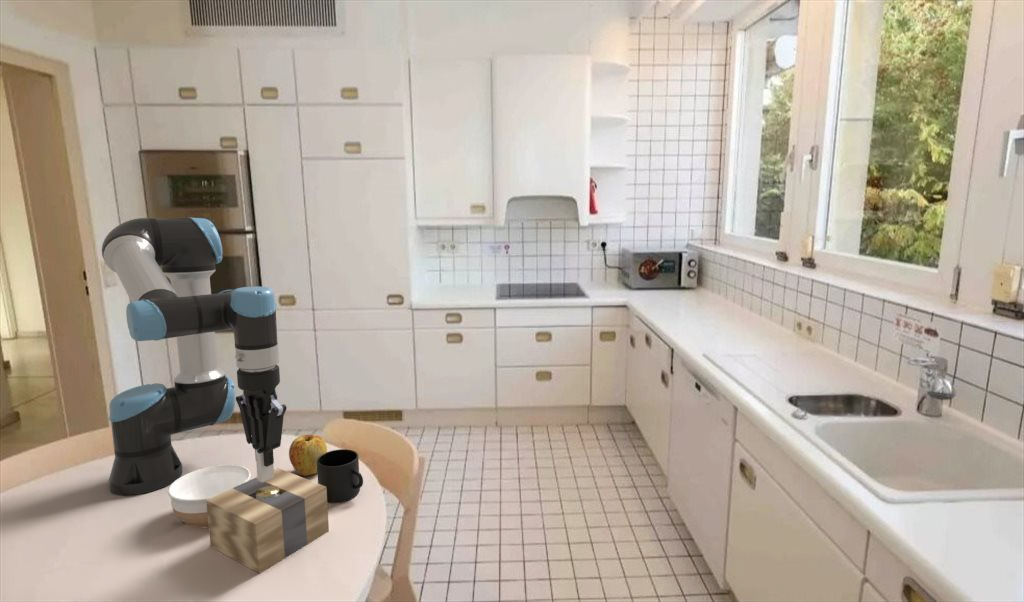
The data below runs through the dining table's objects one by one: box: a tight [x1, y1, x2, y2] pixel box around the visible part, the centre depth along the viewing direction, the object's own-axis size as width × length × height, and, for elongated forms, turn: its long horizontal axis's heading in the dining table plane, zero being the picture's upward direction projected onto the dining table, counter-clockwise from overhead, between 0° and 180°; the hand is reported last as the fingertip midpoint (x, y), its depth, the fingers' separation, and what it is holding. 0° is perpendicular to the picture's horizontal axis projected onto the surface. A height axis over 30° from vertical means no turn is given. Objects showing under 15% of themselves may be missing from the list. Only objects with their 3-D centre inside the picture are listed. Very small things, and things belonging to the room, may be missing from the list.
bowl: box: [167, 464, 252, 529], centre depth 119 cm, size 16×16×8 cm
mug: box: [316, 448, 364, 504], centre depth 128 cm, size 9×12×9 cm
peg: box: [256, 486, 280, 502], centre depth 110 cm, size 4×4×9 cm
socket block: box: [206, 467, 330, 574], centre depth 110 cm, size 16×16×10 cm
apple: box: [288, 434, 328, 477], centre depth 138 cm, size 9×9×10 cm
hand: (265, 478), depth 109 cm, fingers closed
